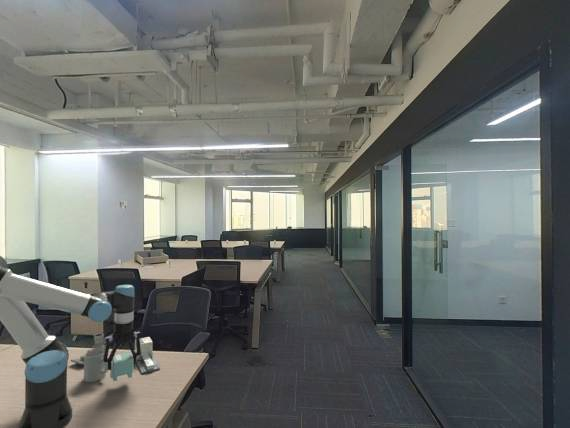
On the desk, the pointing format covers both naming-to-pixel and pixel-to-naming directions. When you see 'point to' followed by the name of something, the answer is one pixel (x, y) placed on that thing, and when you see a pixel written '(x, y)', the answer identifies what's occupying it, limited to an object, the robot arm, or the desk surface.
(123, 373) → the block
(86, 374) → the mug
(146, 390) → the desk surface
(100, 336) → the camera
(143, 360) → the light grey angular piece
